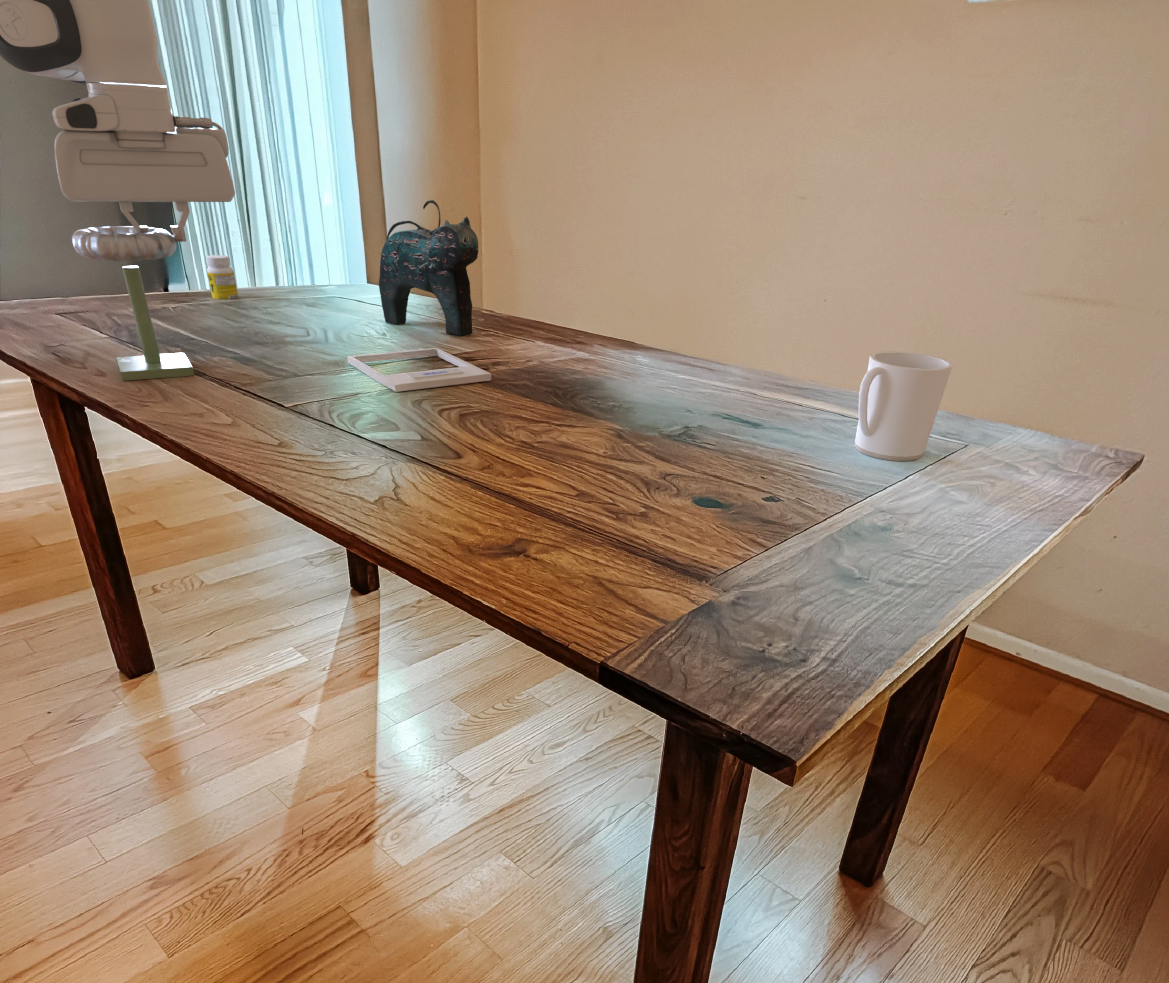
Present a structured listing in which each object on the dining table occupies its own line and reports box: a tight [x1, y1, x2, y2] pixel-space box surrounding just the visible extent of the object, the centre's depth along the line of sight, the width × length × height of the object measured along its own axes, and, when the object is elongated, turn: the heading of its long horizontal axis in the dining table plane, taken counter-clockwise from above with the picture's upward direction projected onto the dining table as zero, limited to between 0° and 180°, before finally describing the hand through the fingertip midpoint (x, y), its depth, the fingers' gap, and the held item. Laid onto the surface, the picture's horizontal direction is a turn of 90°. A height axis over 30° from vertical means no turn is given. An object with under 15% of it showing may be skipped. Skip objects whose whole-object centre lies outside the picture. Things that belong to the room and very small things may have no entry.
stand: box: [115, 265, 195, 382], centre depth 111 cm, size 9×9×13 cm
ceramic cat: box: [378, 199, 479, 337], centre depth 140 cm, size 20×6×20 cm, turn 59°
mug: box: [854, 350, 953, 462], centre depth 94 cm, size 11×9×10 cm
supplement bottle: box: [205, 254, 239, 300], centre depth 154 cm, size 5×5×8 cm
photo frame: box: [346, 347, 492, 393], centre depth 119 cm, size 15×1×18 cm
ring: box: [71, 225, 177, 262], centre depth 106 cm, size 12×12×3 cm
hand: (162, 241), depth 108 cm, fingers closed on ring, 3 cm apart
